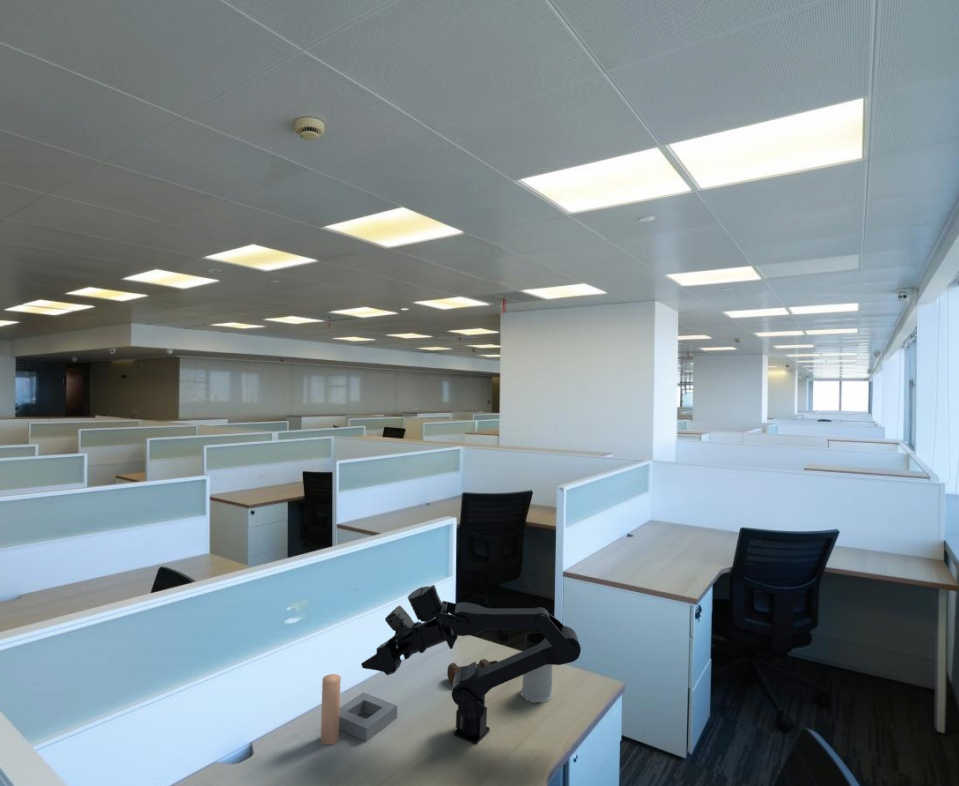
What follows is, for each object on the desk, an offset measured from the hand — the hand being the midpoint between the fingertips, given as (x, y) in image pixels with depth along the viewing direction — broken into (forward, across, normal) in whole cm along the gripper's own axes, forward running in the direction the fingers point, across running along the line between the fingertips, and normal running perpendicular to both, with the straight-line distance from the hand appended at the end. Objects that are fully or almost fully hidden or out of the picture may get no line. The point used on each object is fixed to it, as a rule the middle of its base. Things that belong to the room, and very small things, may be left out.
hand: (369, 657), depth 135 cm
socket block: (+8, -1, +13) cm, 15 cm away
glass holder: (-29, -27, +30) cm, 50 cm away
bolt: (-12, -28, +22) cm, 38 cm away
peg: (+12, +8, +12) cm, 19 cm away
